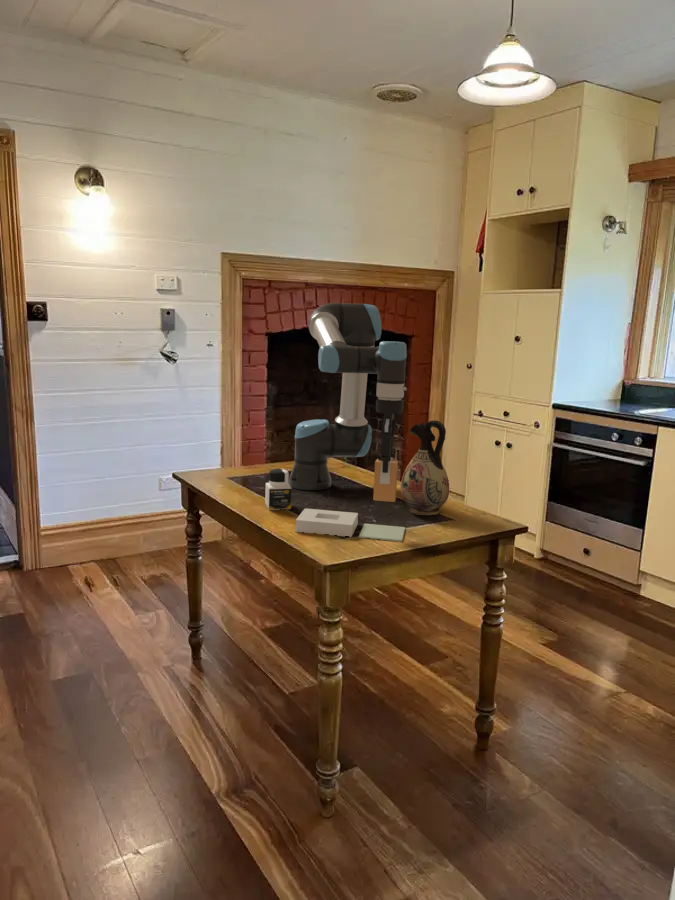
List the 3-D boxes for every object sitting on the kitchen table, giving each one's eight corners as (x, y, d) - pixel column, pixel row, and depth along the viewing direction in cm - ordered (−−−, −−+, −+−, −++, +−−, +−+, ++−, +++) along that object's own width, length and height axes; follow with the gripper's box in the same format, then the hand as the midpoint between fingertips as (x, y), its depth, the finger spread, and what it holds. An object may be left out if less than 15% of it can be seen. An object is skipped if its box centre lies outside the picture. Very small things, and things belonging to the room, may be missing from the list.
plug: (374, 496, 195) (376, 459, 193) (395, 498, 194) (397, 460, 192) (373, 500, 191) (375, 461, 189) (394, 502, 190) (396, 463, 188)
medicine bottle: (268, 510, 212) (269, 472, 210) (265, 504, 219) (265, 467, 217) (291, 509, 214) (292, 472, 212) (286, 503, 221) (287, 467, 219)
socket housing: (304, 519, 204) (304, 508, 204) (357, 524, 202) (358, 513, 201) (295, 531, 193) (295, 519, 192) (351, 537, 190) (352, 525, 189)
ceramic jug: (389, 511, 217) (394, 417, 211) (416, 502, 228) (422, 413, 222) (434, 523, 206) (441, 425, 200) (461, 513, 218) (468, 420, 212)
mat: (364, 525, 201) (364, 523, 201) (405, 528, 200) (405, 527, 199) (358, 537, 190) (358, 536, 190) (401, 541, 188) (402, 540, 188)
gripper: (401, 402, 178) (396, 489, 183) (406, 396, 195) (401, 476, 199) (372, 401, 179) (368, 487, 184) (379, 394, 196) (375, 474, 200)
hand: (385, 481), depth 191 cm, fingers closed on plug, 4 cm apart
